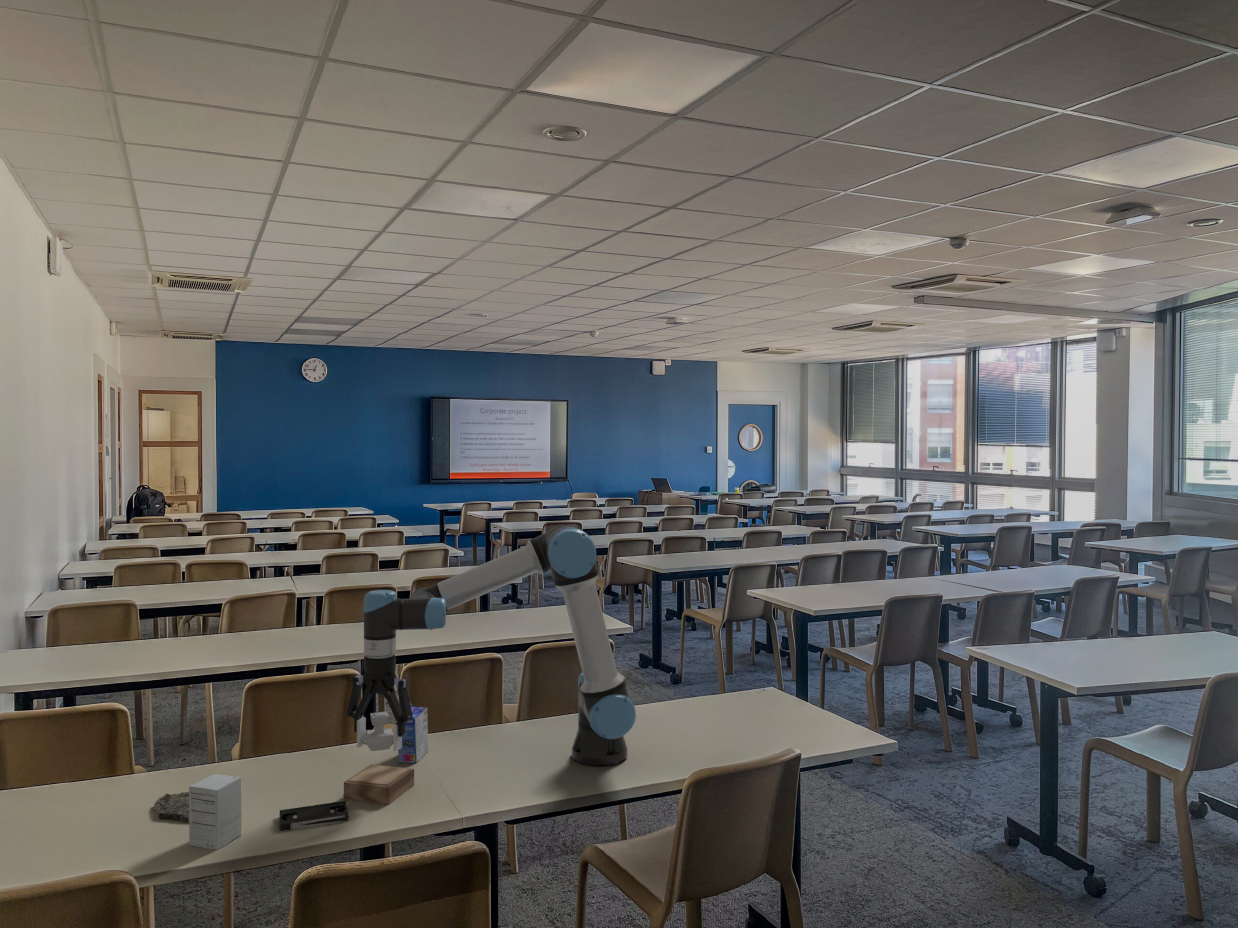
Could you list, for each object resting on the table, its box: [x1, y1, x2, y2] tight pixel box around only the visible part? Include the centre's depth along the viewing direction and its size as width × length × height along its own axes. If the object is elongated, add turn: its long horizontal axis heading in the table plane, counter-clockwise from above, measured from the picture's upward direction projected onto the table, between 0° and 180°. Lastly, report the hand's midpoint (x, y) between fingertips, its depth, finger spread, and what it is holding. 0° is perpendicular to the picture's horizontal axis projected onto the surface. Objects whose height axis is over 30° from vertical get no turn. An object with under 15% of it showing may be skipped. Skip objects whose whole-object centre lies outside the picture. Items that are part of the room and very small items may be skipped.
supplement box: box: [188, 773, 242, 851], centre depth 177 cm, size 7×7×13 cm
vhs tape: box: [279, 800, 349, 832], centre depth 188 cm, size 14×8×2 cm, turn 112°
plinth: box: [343, 764, 415, 805], centre depth 203 cm, size 12×12×4 cm
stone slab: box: [152, 791, 189, 824], centre depth 193 cm, size 12×17×3 cm
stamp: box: [360, 710, 394, 752], centre depth 203 cm, size 9×7×8 cm
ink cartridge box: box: [397, 702, 429, 764], centre depth 228 cm, size 10×6×14 cm, turn 174°
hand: (379, 747), depth 203 cm, fingers closed on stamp, 9 cm apart
